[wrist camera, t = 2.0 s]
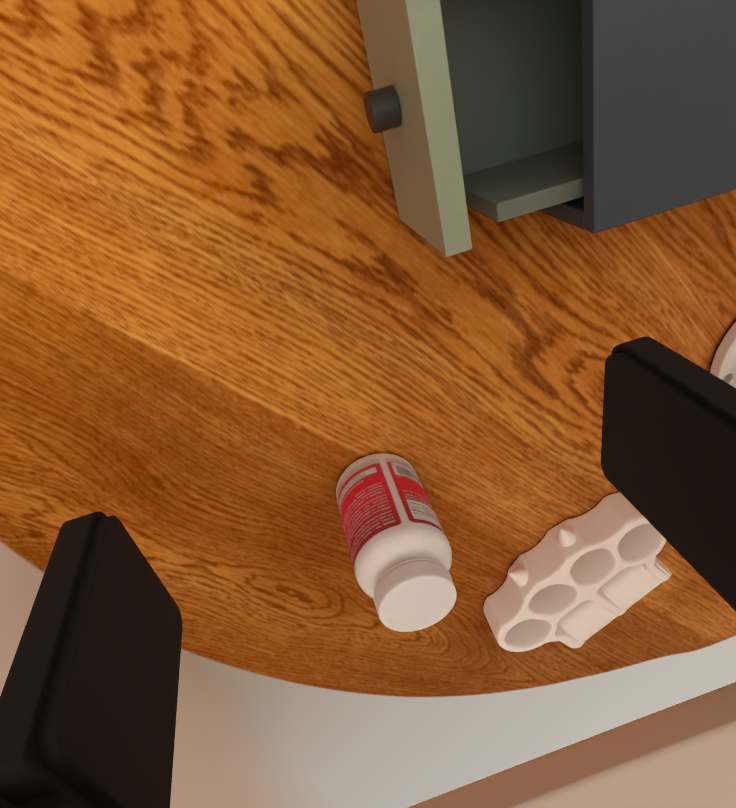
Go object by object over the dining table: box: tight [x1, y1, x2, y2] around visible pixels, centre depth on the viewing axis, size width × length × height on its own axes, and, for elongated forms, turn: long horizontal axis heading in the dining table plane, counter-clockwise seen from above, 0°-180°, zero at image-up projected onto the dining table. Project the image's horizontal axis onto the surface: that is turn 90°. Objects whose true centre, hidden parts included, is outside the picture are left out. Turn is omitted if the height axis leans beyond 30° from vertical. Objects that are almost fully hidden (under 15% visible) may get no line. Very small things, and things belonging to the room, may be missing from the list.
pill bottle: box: [336, 453, 456, 632], centre depth 35 cm, size 6×6×11 cm
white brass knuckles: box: [483, 492, 672, 652], centre depth 48 cm, size 3×18×15 cm
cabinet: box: [538, 0, 736, 233], centre depth 23 cm, size 15×13×10 cm
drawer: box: [356, 0, 584, 257], centre depth 23 cm, size 15×11×8 cm
